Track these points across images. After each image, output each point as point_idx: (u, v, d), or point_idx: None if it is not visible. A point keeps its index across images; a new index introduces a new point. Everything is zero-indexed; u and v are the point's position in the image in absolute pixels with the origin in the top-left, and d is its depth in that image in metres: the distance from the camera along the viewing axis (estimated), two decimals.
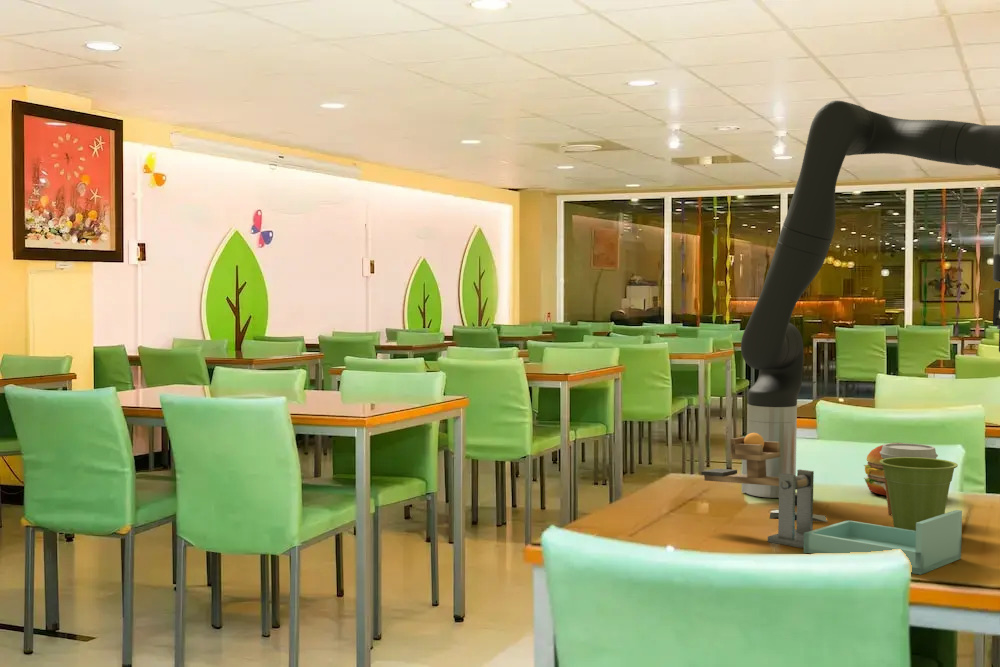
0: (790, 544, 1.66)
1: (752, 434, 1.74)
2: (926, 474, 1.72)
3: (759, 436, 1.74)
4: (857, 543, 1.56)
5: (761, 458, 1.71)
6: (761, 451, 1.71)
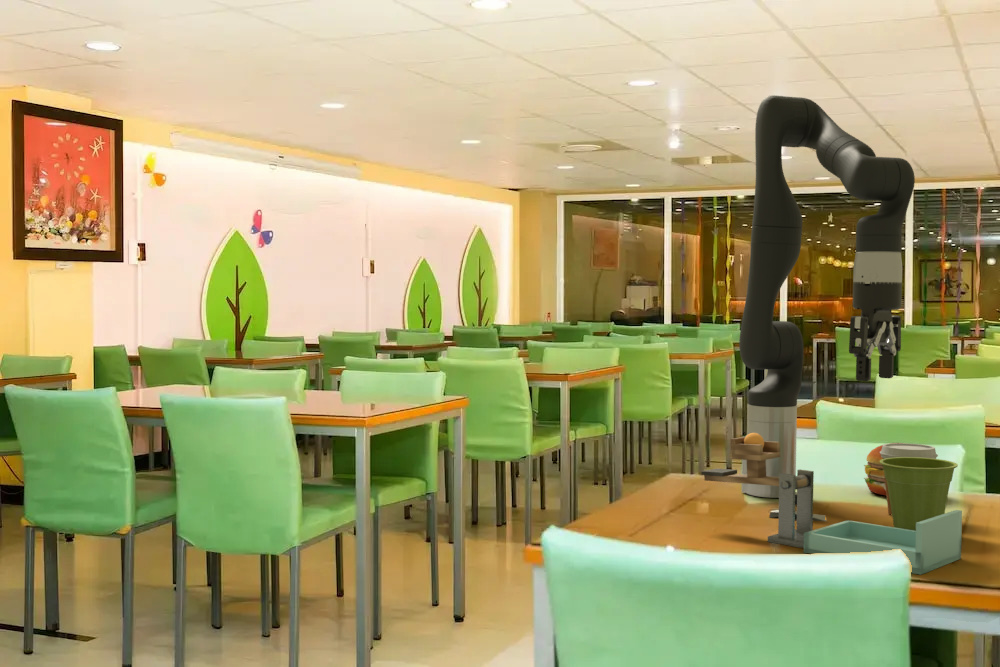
0: (790, 544, 1.66)
1: (752, 434, 1.74)
2: (926, 474, 1.72)
3: (759, 436, 1.74)
4: (857, 543, 1.56)
5: (761, 458, 1.71)
6: (761, 451, 1.71)
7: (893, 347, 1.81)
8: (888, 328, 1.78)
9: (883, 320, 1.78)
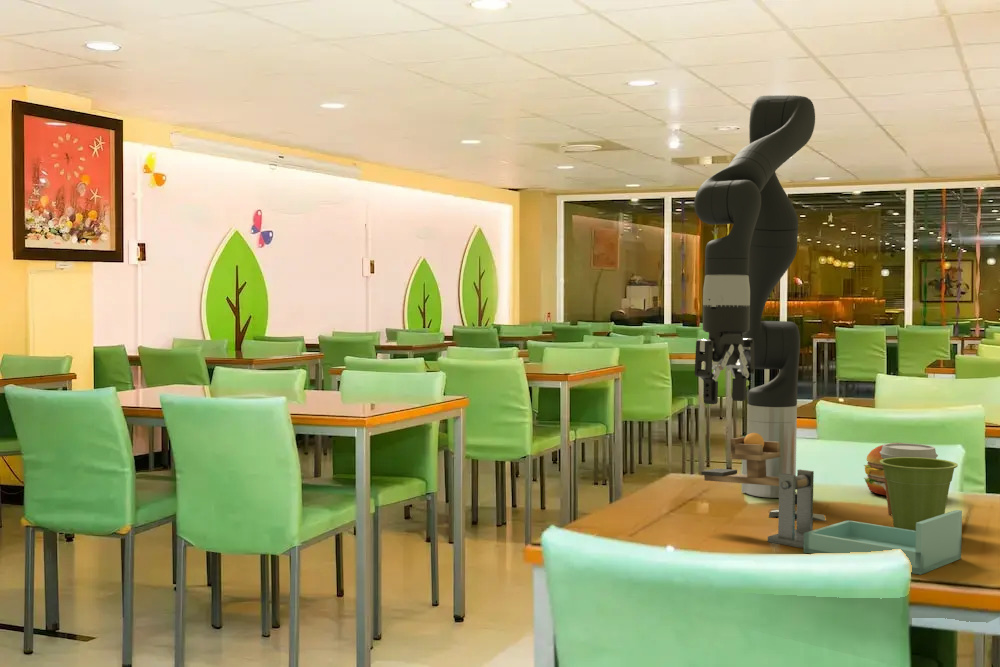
0: (790, 544, 1.66)
1: (752, 434, 1.74)
2: (926, 473, 1.72)
3: (759, 436, 1.74)
4: (857, 543, 1.56)
5: (761, 458, 1.71)
6: (761, 451, 1.71)
7: (745, 370, 1.81)
8: (737, 351, 1.79)
9: (732, 343, 1.79)
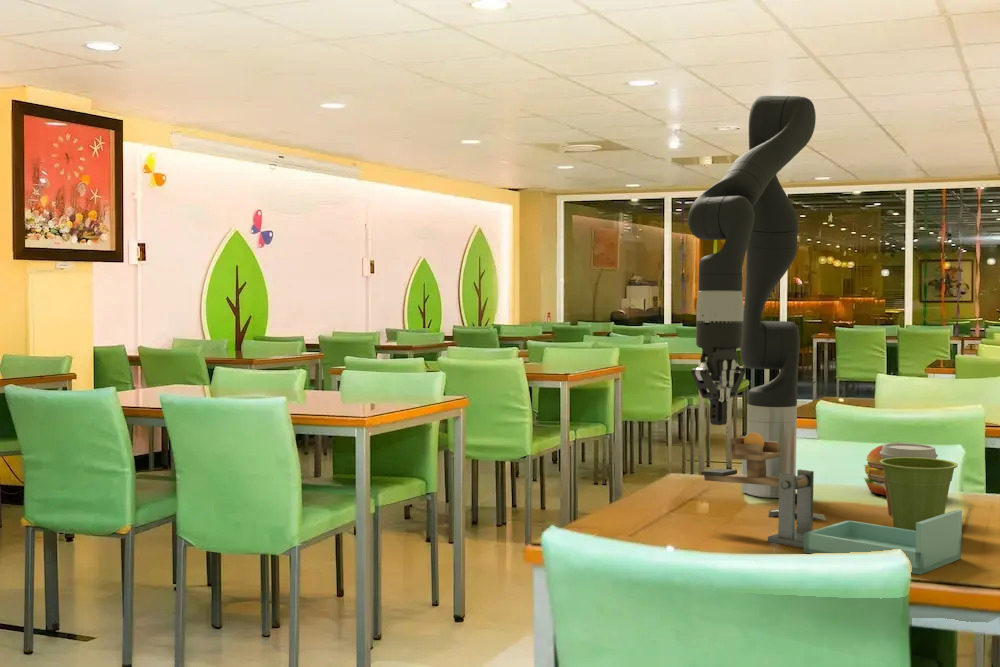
0: (790, 544, 1.66)
1: (752, 434, 1.74)
2: (926, 473, 1.72)
3: (759, 436, 1.74)
4: (857, 543, 1.56)
5: (761, 458, 1.71)
6: (761, 451, 1.71)
7: (728, 392, 1.79)
8: (730, 364, 1.79)
9: (725, 358, 1.79)
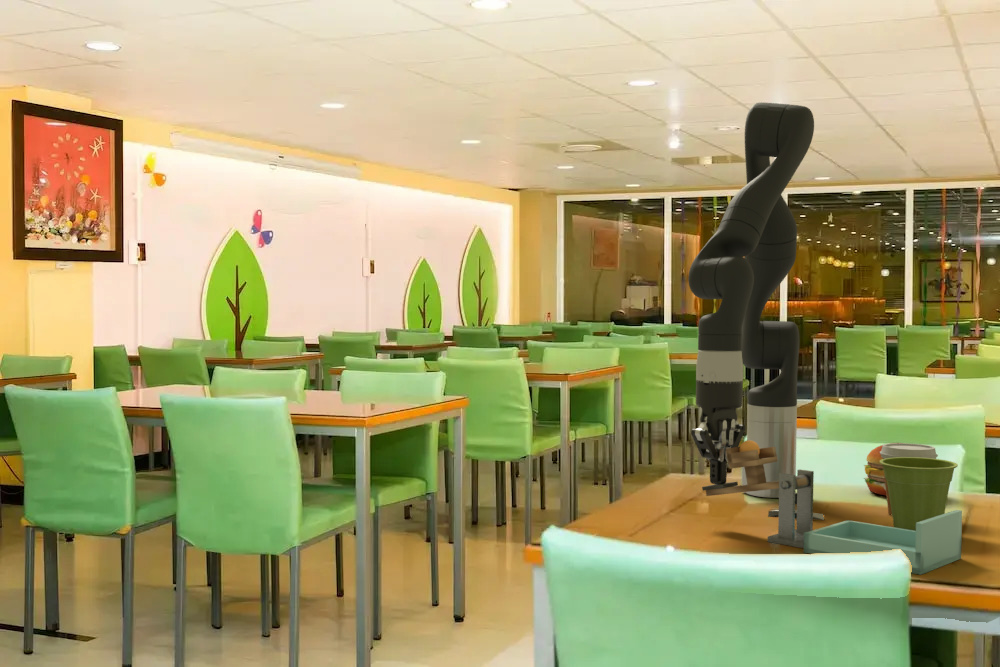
0: (790, 544, 1.66)
1: (746, 441, 1.75)
2: (926, 474, 1.72)
3: (754, 442, 1.75)
4: (857, 543, 1.56)
5: (758, 463, 1.71)
6: (757, 456, 1.72)
7: None
8: (729, 424, 1.79)
9: (725, 418, 1.79)
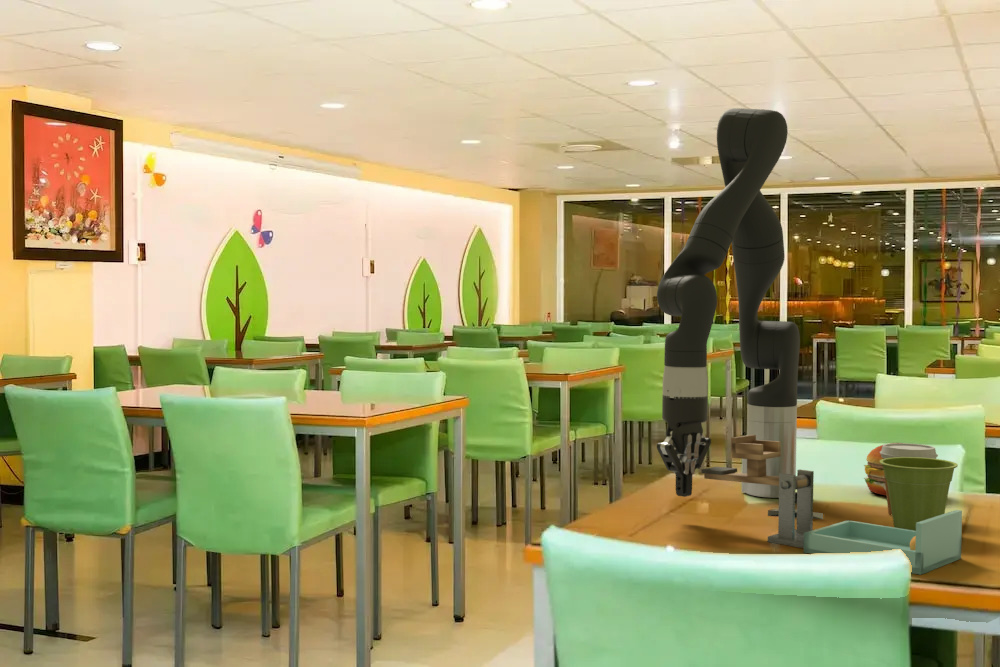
0: (790, 544, 1.66)
1: (914, 537, 1.56)
2: (926, 474, 1.72)
3: None
4: (857, 543, 1.56)
5: (761, 457, 1.71)
6: (761, 451, 1.71)
7: (693, 464, 1.84)
8: (694, 438, 1.84)
9: (690, 432, 1.84)
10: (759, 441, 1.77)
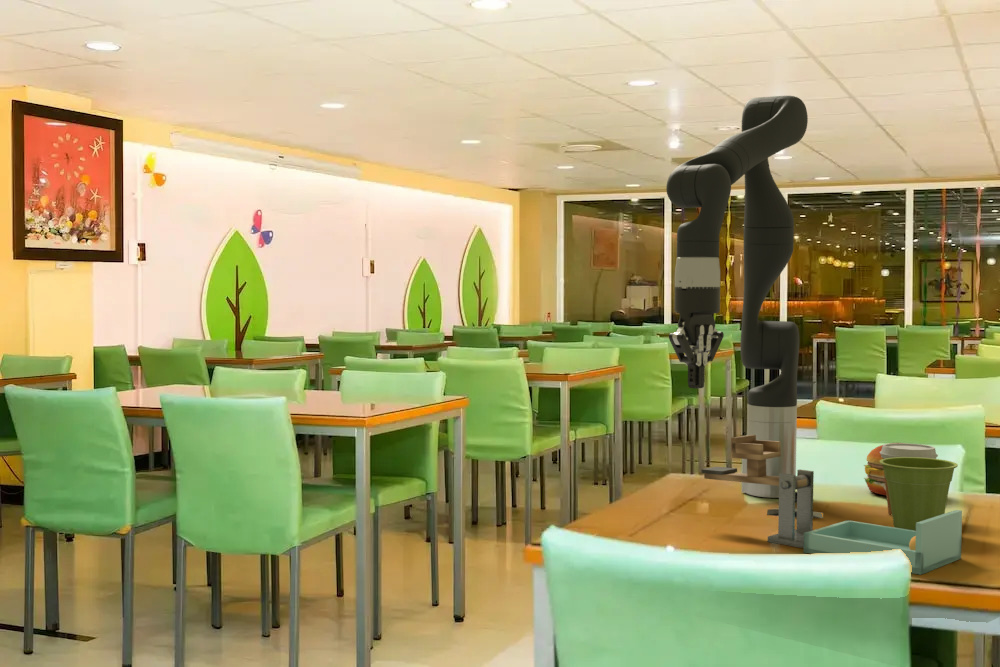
0: (790, 544, 1.66)
1: (913, 537, 1.56)
2: (926, 474, 1.72)
3: None
4: (857, 543, 1.56)
5: (761, 457, 1.71)
6: (761, 451, 1.71)
7: (705, 356, 1.84)
8: (707, 329, 1.83)
9: (703, 323, 1.83)
10: (759, 441, 1.77)
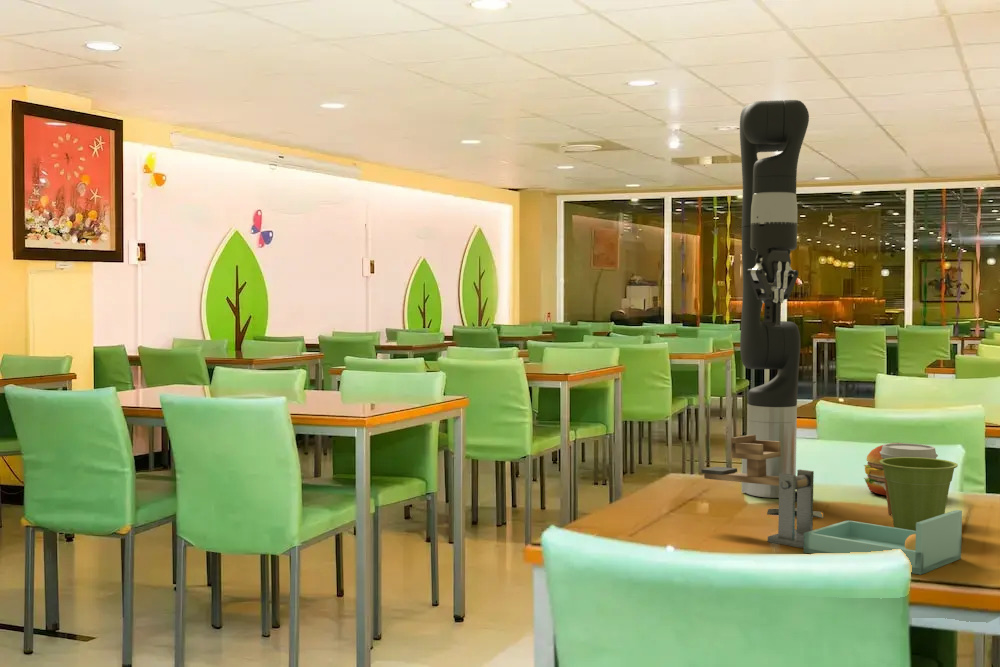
0: (790, 544, 1.66)
1: (906, 539, 1.57)
2: (926, 474, 1.72)
3: (912, 534, 1.57)
4: (857, 543, 1.56)
5: (761, 457, 1.71)
6: (761, 451, 1.71)
7: (782, 293, 1.82)
8: (784, 266, 1.81)
9: (779, 260, 1.82)
10: (759, 441, 1.77)
